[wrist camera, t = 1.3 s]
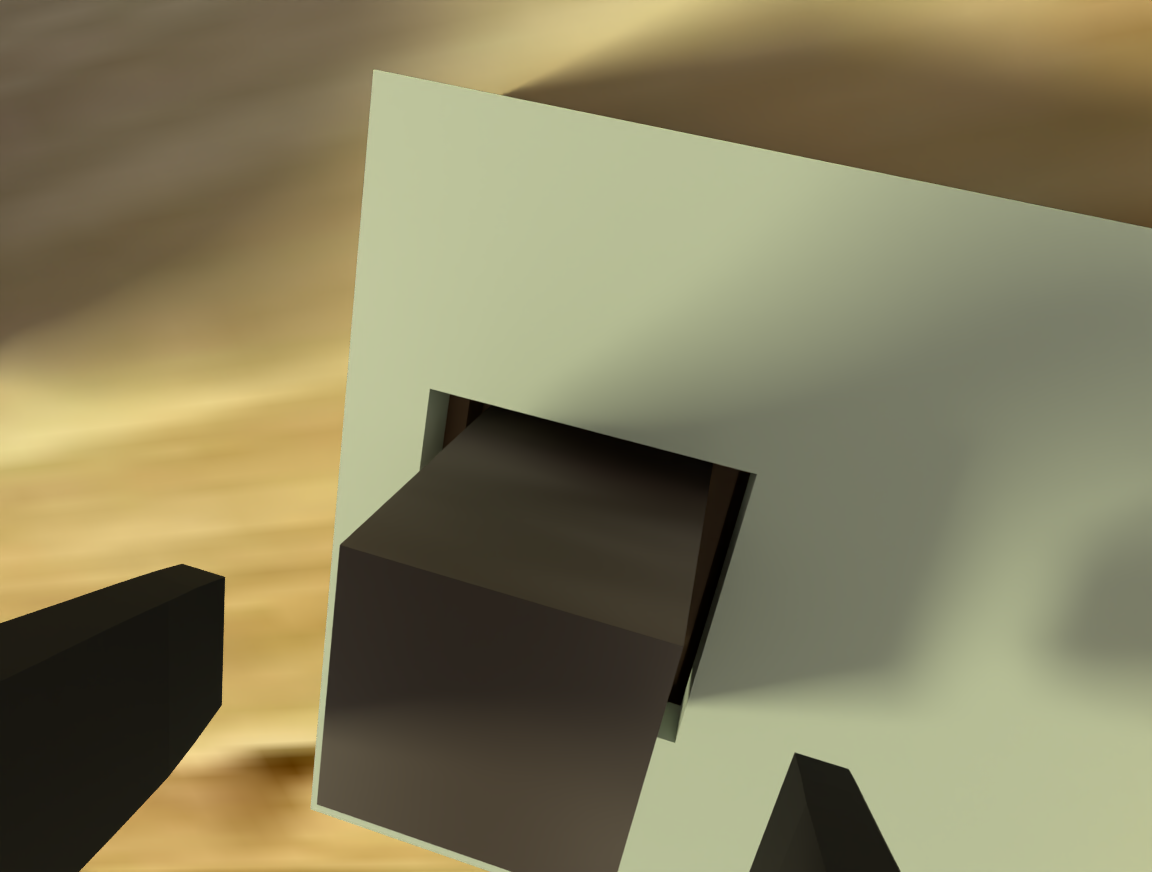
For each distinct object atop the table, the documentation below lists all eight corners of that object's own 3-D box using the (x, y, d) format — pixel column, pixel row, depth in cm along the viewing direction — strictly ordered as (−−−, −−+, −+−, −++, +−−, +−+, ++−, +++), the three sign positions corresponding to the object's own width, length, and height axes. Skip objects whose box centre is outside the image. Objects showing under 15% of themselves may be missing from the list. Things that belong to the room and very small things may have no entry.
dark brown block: (714, 451, 14) (683, 647, 8) (663, 636, 15) (607, 905, 10) (500, 395, 14) (340, 545, 9) (470, 579, 16) (316, 804, 10)
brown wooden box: (1479, 297, 14) (1791, 359, 10) (1121, 868, 19) (1222, 1070, 15) (497, 95, 16) (406, 76, 12) (419, 650, 21) (337, 770, 17)
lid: (1800, 361, 9) (2462, 494, 6) (1224, 1076, 15) (1381, 1386, 11) (403, 75, 12) (242, 41, 8) (335, 773, 17) (217, 943, 13)
